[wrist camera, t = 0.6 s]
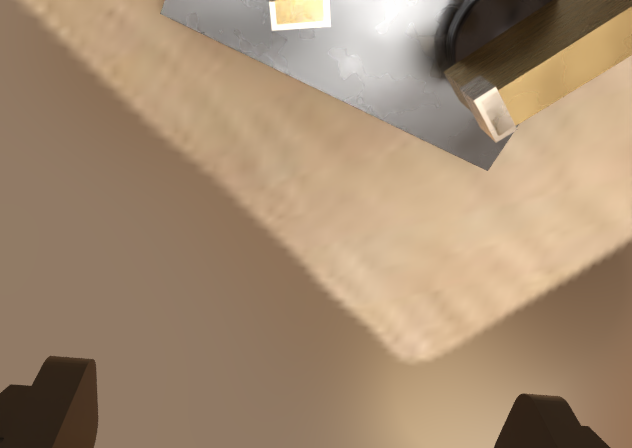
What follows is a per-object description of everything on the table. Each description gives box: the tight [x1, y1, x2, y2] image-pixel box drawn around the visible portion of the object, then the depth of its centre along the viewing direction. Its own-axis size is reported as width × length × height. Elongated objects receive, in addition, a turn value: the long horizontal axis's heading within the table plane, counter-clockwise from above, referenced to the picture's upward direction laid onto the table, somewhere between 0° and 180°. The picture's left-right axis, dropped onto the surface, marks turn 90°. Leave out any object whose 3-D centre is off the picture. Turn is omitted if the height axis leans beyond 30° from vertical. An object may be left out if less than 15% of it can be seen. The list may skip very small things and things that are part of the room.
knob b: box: [443, 0, 632, 142], centre depth 26 cm, size 7×6×8 cm
